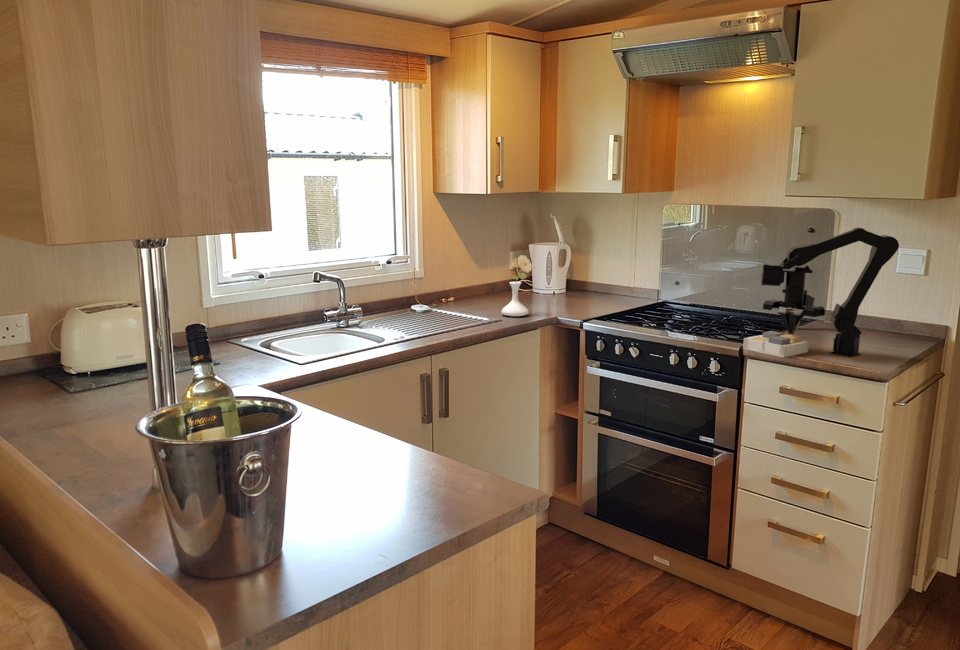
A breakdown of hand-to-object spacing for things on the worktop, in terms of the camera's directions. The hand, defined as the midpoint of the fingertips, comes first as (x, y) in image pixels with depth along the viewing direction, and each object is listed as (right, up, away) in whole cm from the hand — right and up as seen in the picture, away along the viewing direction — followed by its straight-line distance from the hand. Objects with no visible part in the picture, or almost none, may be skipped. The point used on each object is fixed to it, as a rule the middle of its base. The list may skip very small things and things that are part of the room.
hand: (791, 334), depth 237 cm
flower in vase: (-86, +7, +66) cm, 108 cm away
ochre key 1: (-9, -5, +3) cm, 10 cm away
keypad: (-4, -5, +2) cm, 7 cm away
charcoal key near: (-5, -4, -3) cm, 7 cm away
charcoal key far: (-4, -2, +6) cm, 7 cm away
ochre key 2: (0, -3, +1) cm, 3 cm away
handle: (+17, +1, +37) cm, 41 cm away
